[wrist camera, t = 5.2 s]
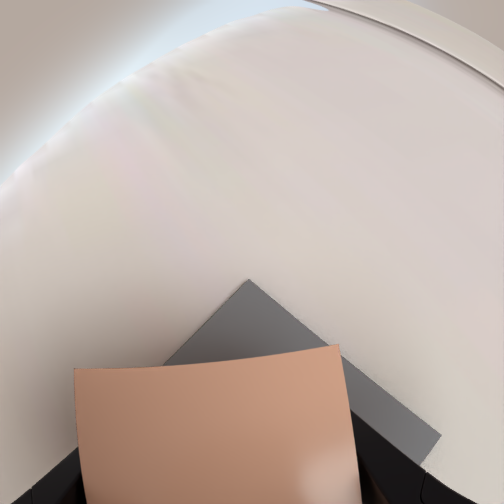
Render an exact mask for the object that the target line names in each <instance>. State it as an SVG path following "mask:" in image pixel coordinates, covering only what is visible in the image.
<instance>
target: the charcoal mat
mask: <svg viewBox="0 0 504 504" xmlns="http://www.w3.org/2000/svg"><path fill="white" fill-rule="evenodd" d="M325 346H329V345H328V344H327V343H325V342H324V341H323V340H322V339H320V338H319V337H318V336H317V335H316V334H314V333H313V332H312V331H311V330H309V329H308V328H307V327H306V326H305V325H303V324H302V323H301V322H300V321H299V320H297V319H296V318H295V317H294V316H293V315H291V314H290V313H289V312H288V311H287V310H285V309H284V308H283V307H282V306H281V305H279V304H278V303H277V302H276V301H275V300H273V299H272V298H271V297H270V296H269V295H267V294H266V293H265V292H264V291H263V290H261V289H260V288H259V287H258V286H257V285H255V284H254V283H253V282H252V281H251V280H250V279H248V281H247V282H246V283H245V284H244V285H243V286H242V287H241V288H240V289H239V290H238V291H237V292H236V293H235V294H234V295H233V296H232V297H231V298H230V299H229V300H228V301H227V302H226V303H225V304H224V305H223V306H222V307H221V308H220V309H219V310H218V311H217V312H216V313H215V314H214V315H213V316H212V317H211V318H210V319H209V320H208V321H207V322H206V323H205V324H204V325H203V326H202V327H201V328H200V329H199V330H198V331H197V332H196V333H195V334H194V335H193V336H192V337H191V338H190V339H189V340H188V341H187V342H186V343H185V344H184V345H183V346H182V347H181V348H180V349H179V350H178V351H177V352H176V353H175V354H174V355H173V356H172V357H171V358H170V359H169V360H168V361H167V362H166V363H165V364H164V365H163V366H174V365H187V364H199V363H210V362H220V361H229V360H238V359H246V358H254V357H262V356H269V355H276V354H283V353H289V352H296V351H302V350H308V349H314V348H319V347H325ZM341 360H342V366H343V371H344V377H345V383H346V389H347V395H348V401H349V407H350V409H351V410H352V411H353V412H355V413H356V414H357V415H358V416H359V417H361V418H362V419H363V420H364V421H365V422H366V423H368V424H369V425H370V426H371V427H372V428H374V429H375V430H376V431H377V432H378V433H380V434H381V435H382V436H383V437H384V438H386V439H387V440H388V441H389V442H391V443H392V444H393V445H394V446H395V447H397V448H398V449H399V450H400V451H402V452H403V453H404V454H405V455H407V456H408V457H409V458H410V459H412V460H413V461H414V462H415V463H417V464H418V465H419V466H420V464H421V463H422V462H423V461H424V459H425V458H426V457H427V455H428V454H429V452H430V451H431V450H432V448H433V447H434V446H435V444H436V443H437V441H438V440H439V438H440V437H441V434H440V433H438V432H437V431H436V430H434V429H433V428H432V427H431V426H429V425H428V424H427V423H425V422H424V421H423V420H422V419H420V418H419V417H418V416H416V415H415V414H414V413H413V412H411V411H410V410H409V409H408V408H406V407H405V406H404V405H402V404H401V403H400V402H399V401H397V400H396V399H395V398H394V397H392V396H391V395H390V394H389V393H387V392H386V391H385V390H383V389H382V388H381V387H380V386H378V385H377V384H376V383H375V382H373V381H372V380H371V379H370V378H368V377H367V376H366V375H365V374H364V373H362V372H361V371H360V370H359V369H357V368H356V367H355V366H354V365H352V364H351V363H350V362H349V361H347V360H346V359H345V358H344V357H342V356H341Z"/></svg>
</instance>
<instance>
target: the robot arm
mask: <svg viewBox="0 0 504 504" xmlns="http://www.w3.org/2000/svg"><path fill="white" fill-rule="evenodd" d="M350 414H351V420H352V427H353V434H354V441H355V448H356V456H357V463H358V472H359V480H360V489H361V499H362V504H477V503H475V502H473V501H471V500H470V499H468V498H466V497H464V496H462V495H460V494H459V493H457V492H455V491H454V490H452V489H450V488H449V487H447V486H446V485H444V484H443V483H442V482H440V481H439V480H437V479H436V478H435V477H433V476H432V475H431V474H430V473H428V472H426V471H425V470H424V469H423V468H422V467H420V466H419V465H418V464H417V463H415V462H414V461H413V460H412V459H410V458H409V457H408V456H407V455H405V454H404V453H403V452H402V451H400V450H399V449H398V448H397V447H395V446H394V445H393V444H392V443H391V442H389V441H388V440H387V439H386V438H384V437H383V436H382V435H381V434H380V433H378V432H377V431H376V430H375V429H374V428H372V427H371V426H370V425H369V424H368V423H366V422H365V421H364V420H363V419H362V418H361V417H359V416H358V415H357V414H356V413H355V412H353V411H352V410H351V409H350ZM11 504H87V501H86V495H85V490H84V484H83V477H82V470H81V463H80V455H79V447H77V448H76V449H75V450H74V451H72V452H71V453H70V454H69V455H68V456H67V457H66V458H65V459H63V460H62V461H61V462H60V463H59V464H58V465H57V466H55V467H54V468H53V469H52V470H51V471H50V472H49V473H47V474H46V475H45V476H44V477H43V478H42V479H40V480H39V481H38V482H37V483H36V484H35V485H33V486H32V489H31V488H30V489H29V490H28V491H26V492H25V493H24V494H23V495H22V496H20V497H19V498H18V499H17V500H15V501H14V502H13V503H11Z"/></svg>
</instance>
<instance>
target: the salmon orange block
mask: <svg viewBox="0 0 504 504" xmlns="http://www.w3.org/2000/svg"><path fill="white" fill-rule="evenodd" d="M74 390H75V411H76V425H77V437H78V447H79V455H80V463H81V470H82V477H83V484H84V490H85V495H86V501H87V504H362V499H361V489H360V480H359V472H358V463H357V456H356V448H355V441H354V434H353V427H352V420H351V414H350V407H349V401H348V395H347V389H346V383H345V377H344V371H343V366H342V360H341V355H340V350H339V344H336V345H330V346H325V347H319V348H314V349H308V350H302V351H296V352H289V353H283V354H276V355H269V356H262V357H254V358H246V359H238V360H229V361H220V362H210V363H199V364H187V365H174V366H159V367H139V368H107V369H74Z"/></svg>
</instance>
